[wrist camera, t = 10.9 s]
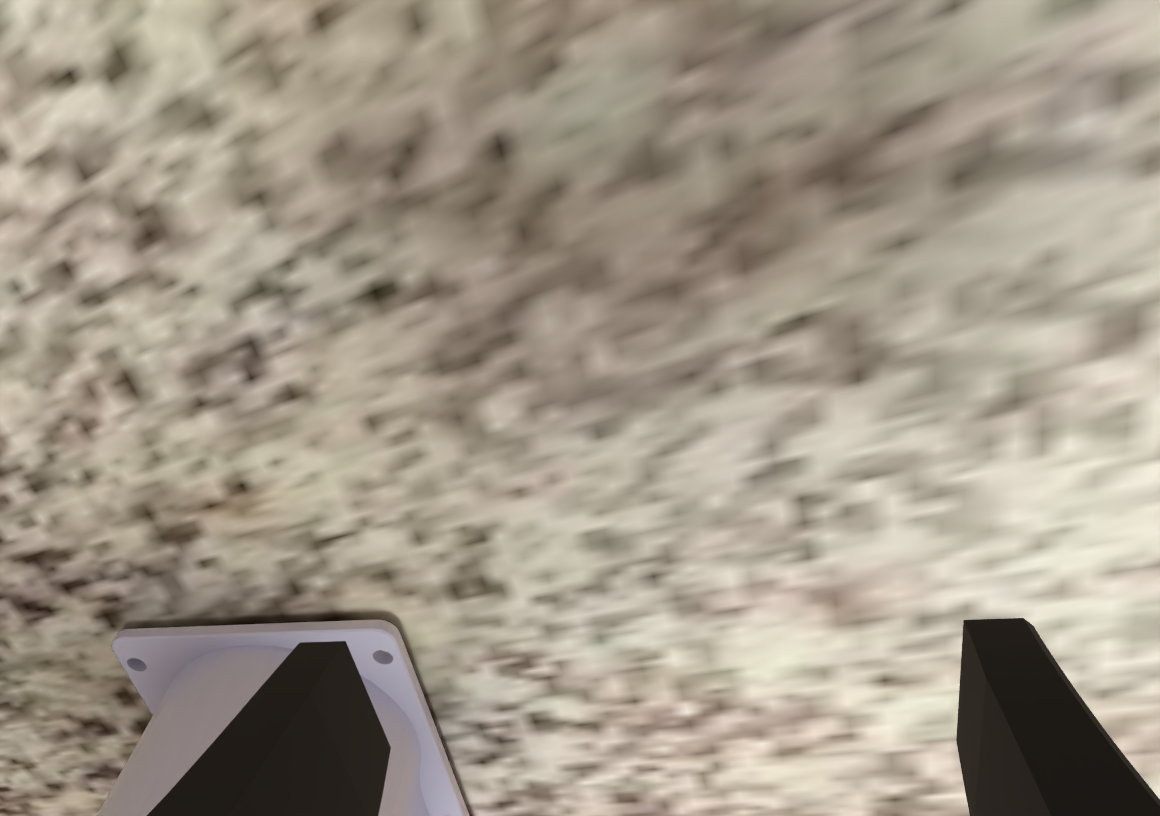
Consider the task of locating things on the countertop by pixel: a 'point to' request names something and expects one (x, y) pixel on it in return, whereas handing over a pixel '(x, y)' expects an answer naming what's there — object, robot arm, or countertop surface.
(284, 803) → the robot arm
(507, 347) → the countertop surface
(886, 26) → the countertop surface
